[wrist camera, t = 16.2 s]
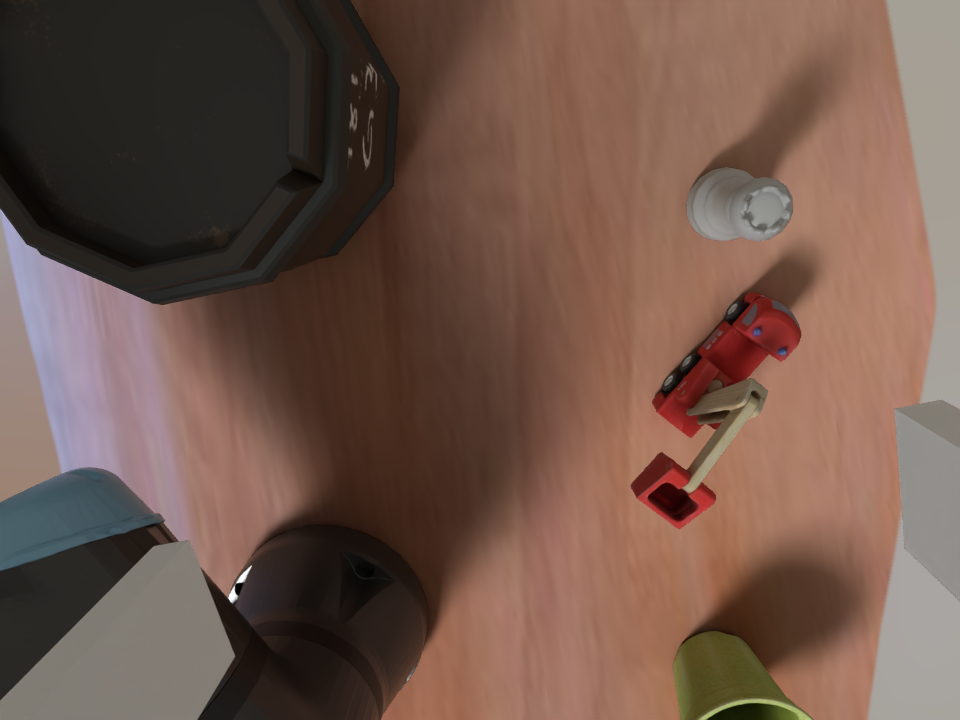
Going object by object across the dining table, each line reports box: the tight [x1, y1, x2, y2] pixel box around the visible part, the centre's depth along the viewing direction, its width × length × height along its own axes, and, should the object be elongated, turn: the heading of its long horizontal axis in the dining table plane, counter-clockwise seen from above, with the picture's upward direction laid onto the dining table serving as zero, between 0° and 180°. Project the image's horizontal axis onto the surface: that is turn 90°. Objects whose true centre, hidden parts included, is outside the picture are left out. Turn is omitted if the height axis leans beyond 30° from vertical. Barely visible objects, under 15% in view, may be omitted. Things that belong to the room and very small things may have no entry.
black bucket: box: [0, 0, 399, 305], centre depth 33 cm, size 18×18×16 cm
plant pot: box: [673, 631, 813, 720], centre depth 45 cm, size 9×9×9 cm
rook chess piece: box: [686, 167, 793, 241], centre depth 37 cm, size 4×4×8 cm
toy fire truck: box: [631, 292, 801, 529], centre depth 39 cm, size 3×14×10 cm, turn 143°
